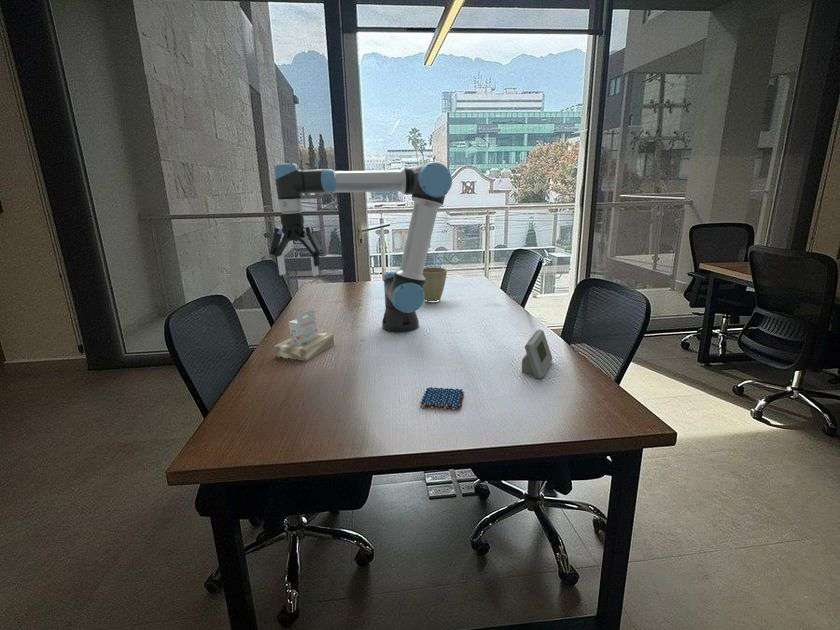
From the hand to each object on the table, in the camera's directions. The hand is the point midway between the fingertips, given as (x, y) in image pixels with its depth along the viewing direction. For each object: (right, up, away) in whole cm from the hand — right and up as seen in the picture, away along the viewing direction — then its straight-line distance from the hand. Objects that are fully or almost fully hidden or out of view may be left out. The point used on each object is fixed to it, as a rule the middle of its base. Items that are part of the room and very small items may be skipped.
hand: (299, 275), depth 151 cm
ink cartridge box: (+1, -27, +5) cm, 27 cm away
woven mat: (+48, -37, -36) cm, 71 cm away
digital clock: (+79, -31, -18) cm, 86 cm away
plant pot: (+49, -7, +67) cm, 83 cm away
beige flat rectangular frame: (+1, -27, +5) cm, 27 cm away
